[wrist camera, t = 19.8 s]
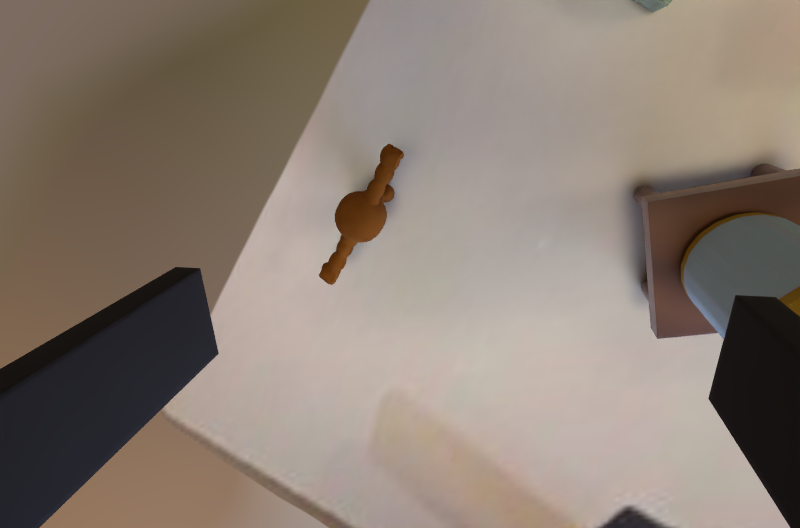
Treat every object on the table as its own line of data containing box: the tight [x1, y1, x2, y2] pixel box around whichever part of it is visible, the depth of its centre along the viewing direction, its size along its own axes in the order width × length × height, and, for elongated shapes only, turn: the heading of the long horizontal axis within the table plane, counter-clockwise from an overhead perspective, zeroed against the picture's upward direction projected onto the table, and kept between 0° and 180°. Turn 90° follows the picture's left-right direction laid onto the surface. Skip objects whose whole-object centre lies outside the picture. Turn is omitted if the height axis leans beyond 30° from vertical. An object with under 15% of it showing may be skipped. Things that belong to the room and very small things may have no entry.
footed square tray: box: [634, 164, 800, 339], centre depth 32 cm, size 10×10×6 cm
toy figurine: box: [319, 144, 404, 285], centre depth 36 cm, size 12×4×7 cm, turn 151°
